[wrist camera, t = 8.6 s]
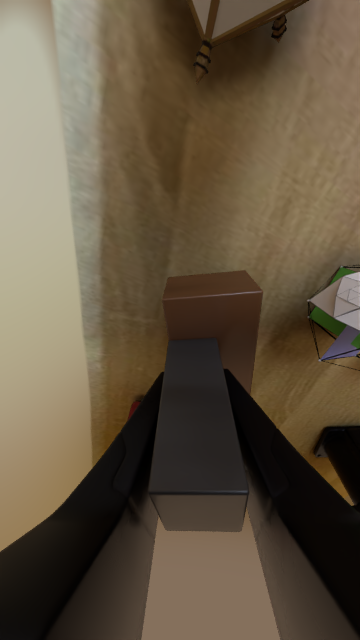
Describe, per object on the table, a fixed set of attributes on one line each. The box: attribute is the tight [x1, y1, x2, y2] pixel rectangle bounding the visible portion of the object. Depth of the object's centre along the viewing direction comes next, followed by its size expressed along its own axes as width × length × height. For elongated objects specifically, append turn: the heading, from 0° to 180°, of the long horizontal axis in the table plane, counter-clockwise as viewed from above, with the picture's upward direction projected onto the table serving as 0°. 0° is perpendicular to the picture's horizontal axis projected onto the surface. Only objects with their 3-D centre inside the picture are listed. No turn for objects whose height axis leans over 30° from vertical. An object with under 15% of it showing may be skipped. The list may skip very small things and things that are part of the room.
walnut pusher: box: [148, 270, 263, 532], centre depth 9 cm, size 8×4×9 cm, turn 6°
